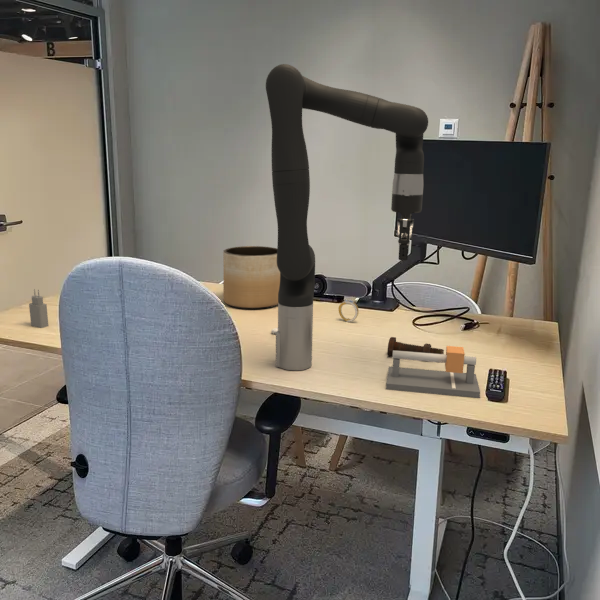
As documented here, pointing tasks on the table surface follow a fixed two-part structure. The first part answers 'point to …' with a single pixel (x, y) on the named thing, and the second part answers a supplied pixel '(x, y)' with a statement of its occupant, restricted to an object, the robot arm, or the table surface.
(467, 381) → the pipe stand
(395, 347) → the bolt
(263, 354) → the table surface
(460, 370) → the collar
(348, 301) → the ring
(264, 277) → the planter
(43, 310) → the power adapter
